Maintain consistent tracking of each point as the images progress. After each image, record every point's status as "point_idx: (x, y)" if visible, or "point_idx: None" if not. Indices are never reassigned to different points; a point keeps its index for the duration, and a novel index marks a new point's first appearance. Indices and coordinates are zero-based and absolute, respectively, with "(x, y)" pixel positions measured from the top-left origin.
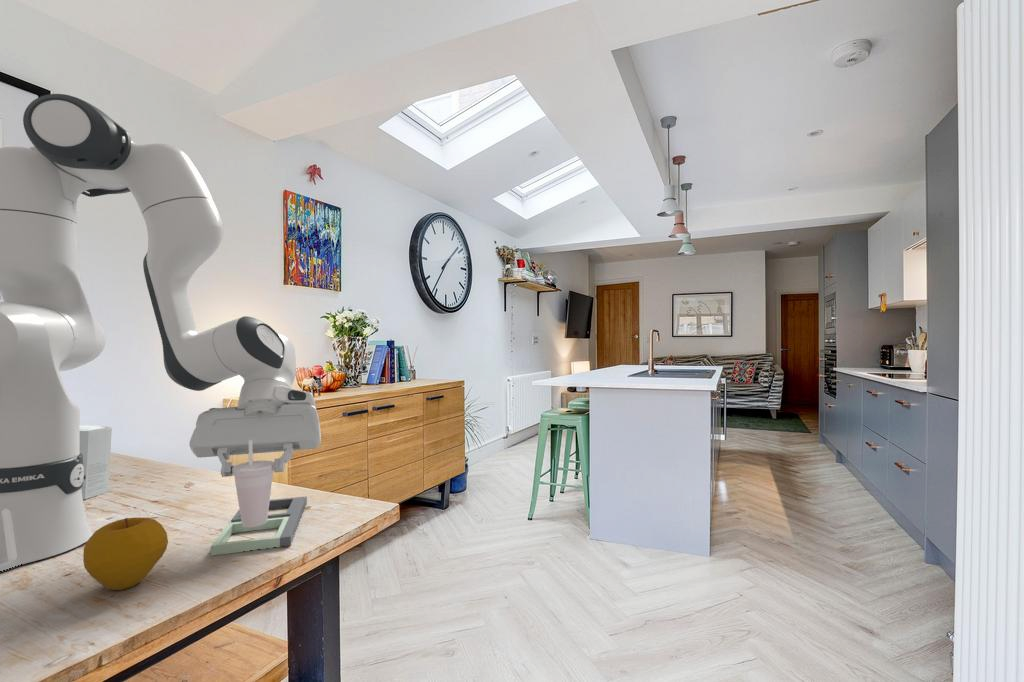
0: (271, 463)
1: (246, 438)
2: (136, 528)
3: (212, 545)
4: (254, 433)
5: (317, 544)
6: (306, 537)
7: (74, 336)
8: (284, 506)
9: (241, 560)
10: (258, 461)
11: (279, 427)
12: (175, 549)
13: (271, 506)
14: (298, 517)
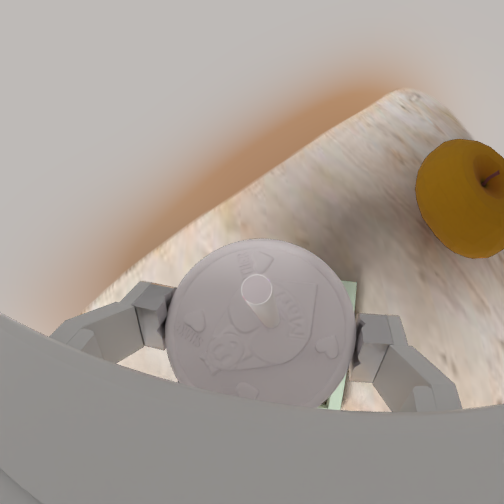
0: (179, 335)
1: (298, 438)
2: (463, 145)
3: (354, 283)
4: (222, 469)
5: (162, 254)
6: None
7: None
8: None
9: (293, 240)
10: None
11: (22, 430)
12: (422, 351)
13: None
14: (178, 382)
